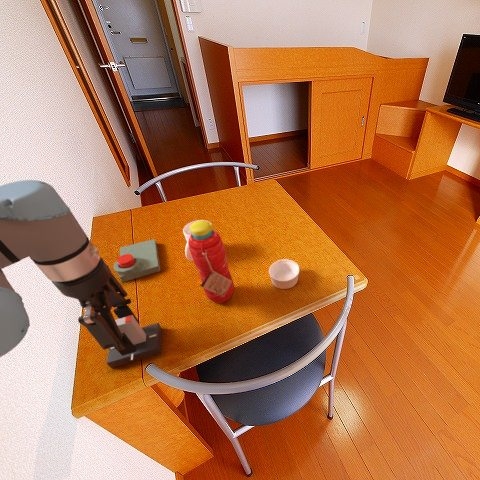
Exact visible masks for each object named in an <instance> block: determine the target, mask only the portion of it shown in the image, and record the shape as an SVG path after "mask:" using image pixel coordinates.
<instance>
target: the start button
mask: <svg viewBox="0 0 480 480" xmlns="http://www.w3.org/2000/svg"><path fill="white" fill-rule="evenodd" d="M116 261H117V263H118V264H119V266H120V267H121V268H128V267H131V266H133V265H134V264H135V259H134V257H133V256H132V255H131V254H125V255H122V256H120V255H119V257H117V259H116Z"/></svg>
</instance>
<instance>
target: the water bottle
mask: <svg viewBox="0 0 480 480" xmlns="http://www.w3.org/2000/svg"><path fill="white" fill-rule="evenodd" d="M196 221H197V220H196ZM209 222H210V221H209V220H206V221H197V222H195V223H193V224H192V225H191V227H190V230H191V235H190V238H189V241H188V245H189V250H190V254H191V257H192V258H193V260H194V261H193V264H194V265H195V267H196V269H197V271H198V273H199V276H200V281H201V284H200V285H199V286H200V287H202V289H203V291H204V293H205V295H206V299H208V300H210V301H211V302H213V303H214V304H222V303H225V302H228V301H229V300H230V299H231V297H232V296H233V293H234V290H235V283H234V279H233V277H232V275H231V272H230V269H229V264H228V261H227V251H226V248H225V245H224V242H223V239H222V237H221V235H220V234H219V232H218V231H217V230H215V229H214V227H213V224H212V225H210V223H211V222H210V223H209Z"/></svg>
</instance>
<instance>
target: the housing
mask: <svg viewBox="0 0 480 480" xmlns="http://www.w3.org/2000/svg"><path fill="white" fill-rule="evenodd" d="M158 248H159V247H158V242H157V241H156V239H155V238H153V239H149V240H145V241H141V242H137V243H133V244H128V245H124V246H120V247H119V257H120V256H122V255H125V254H131V255H132V256H133V257H134V259H135V264H134V265H133V266H131V267H128V268H121V267H120V266H119V264H118V263H117V260H116V261H115V262H114V264H113V270H114V271H115V273H116V274H117V275H118V276H119V279H120V280H121V282H122V283H124V282H128V281H131V280H135V279H139V278H142V277H145V276H148V275H152V274H155V273H158V272H161V264H160V257H159V249H158Z"/></svg>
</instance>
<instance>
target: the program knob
mask: <svg viewBox="0 0 480 480" xmlns="http://www.w3.org/2000/svg"><path fill="white" fill-rule="evenodd" d="M115 321H116V323H117V325H118V328H119V330H120V332H121V333H125V334H126V336H127V337H128V338H129V339H130V341H131V342H132V343H133V344H134V345H135V344H138V343H142V342H145V341H146V334H145V332H144V331H143V329H142V327H141V325H140V323H139V324H138V322H137V321H136V319H135V318H134V317H133V315H130V316H126V317H124V318H120V319H119V318H117V319H115Z"/></svg>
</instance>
